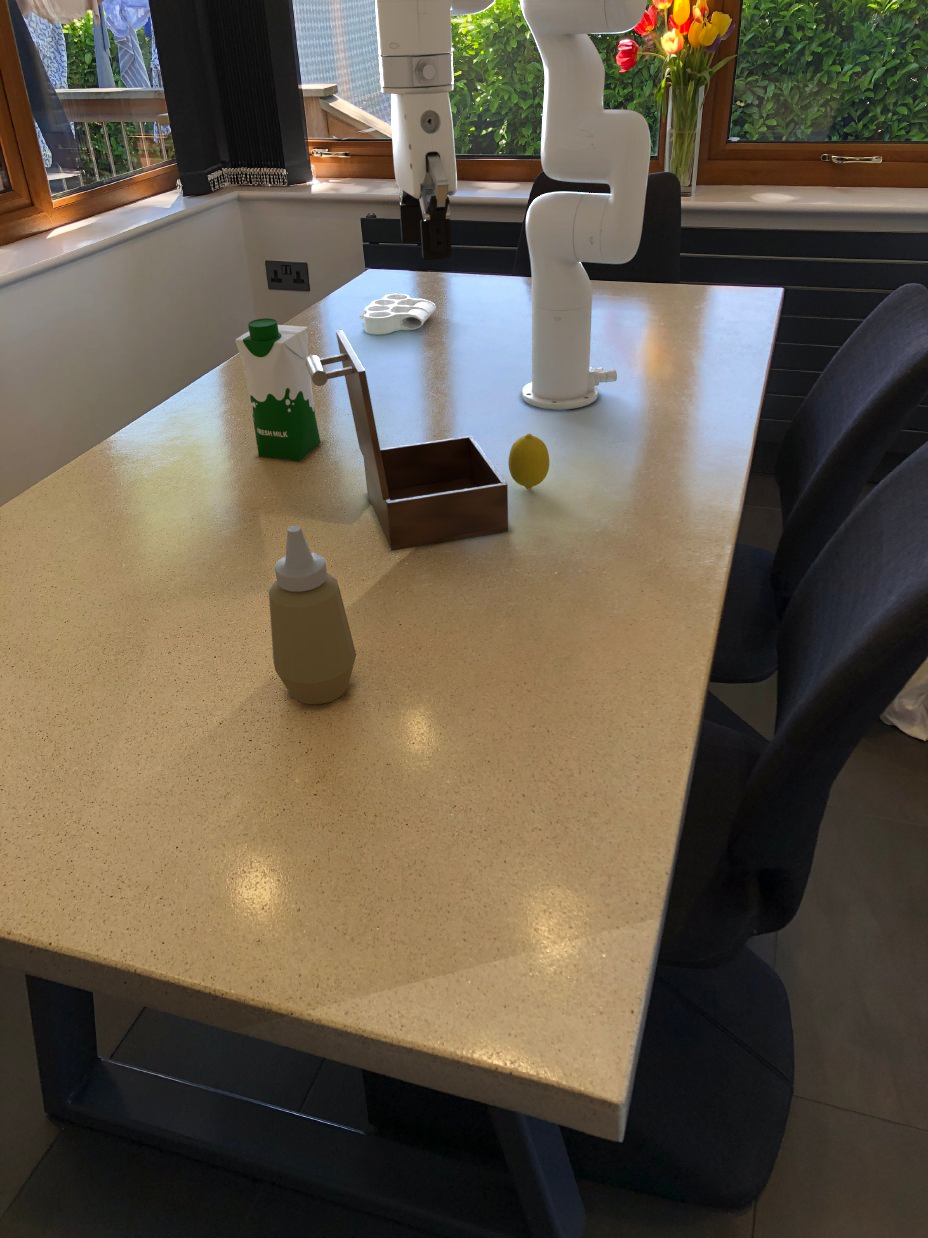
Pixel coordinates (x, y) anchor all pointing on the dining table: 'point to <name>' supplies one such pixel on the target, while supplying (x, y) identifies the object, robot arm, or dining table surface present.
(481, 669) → the dining table surface
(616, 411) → the dining table surface
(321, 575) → the squeeze bottle
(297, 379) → the milk carton
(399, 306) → the white multi-hole holder
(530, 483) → the lemon
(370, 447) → the lid
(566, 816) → the dining table surface
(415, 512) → the box
